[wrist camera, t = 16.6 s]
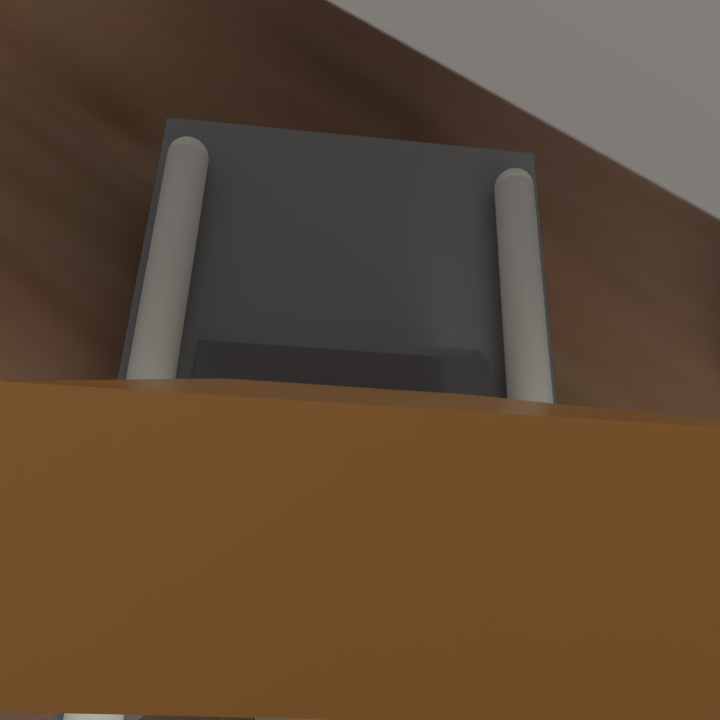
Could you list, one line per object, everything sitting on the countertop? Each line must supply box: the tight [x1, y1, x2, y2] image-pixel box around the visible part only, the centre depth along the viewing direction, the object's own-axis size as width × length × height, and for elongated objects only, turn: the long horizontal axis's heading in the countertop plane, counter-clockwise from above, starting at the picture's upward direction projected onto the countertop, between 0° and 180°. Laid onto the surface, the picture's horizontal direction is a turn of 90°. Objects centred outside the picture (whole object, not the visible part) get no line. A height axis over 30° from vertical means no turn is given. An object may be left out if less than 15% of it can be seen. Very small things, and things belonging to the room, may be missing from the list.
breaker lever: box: [0, 378, 720, 720], centre depth 10 cm, size 6×2×12 cm, turn 88°
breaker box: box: [53, 117, 557, 720], centre depth 20 cm, size 12×20×7 cm, turn 178°
